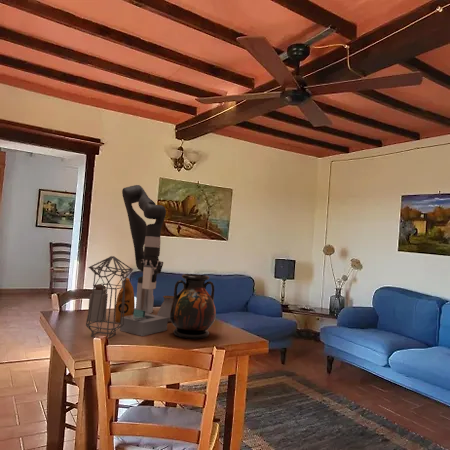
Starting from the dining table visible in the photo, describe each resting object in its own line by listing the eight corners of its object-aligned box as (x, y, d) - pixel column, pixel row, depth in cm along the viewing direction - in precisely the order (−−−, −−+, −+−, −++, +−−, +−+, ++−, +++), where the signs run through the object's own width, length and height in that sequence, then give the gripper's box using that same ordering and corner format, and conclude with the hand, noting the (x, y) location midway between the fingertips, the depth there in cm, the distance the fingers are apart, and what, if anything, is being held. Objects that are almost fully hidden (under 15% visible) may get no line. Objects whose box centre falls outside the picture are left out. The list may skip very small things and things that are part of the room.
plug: (148, 287, 196) (150, 264, 196) (155, 288, 193) (157, 265, 194) (141, 288, 192) (143, 265, 192) (149, 289, 189) (150, 266, 190)
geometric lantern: (96, 330, 185) (104, 254, 187) (128, 334, 182) (136, 257, 184) (77, 337, 170) (87, 254, 171) (112, 342, 167) (121, 258, 168)
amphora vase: (171, 341, 174) (176, 276, 175) (165, 329, 195) (169, 271, 196) (219, 341, 180) (224, 278, 181) (208, 330, 201) (212, 273, 202)
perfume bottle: (105, 319, 207) (108, 284, 208) (100, 322, 201) (103, 286, 201) (93, 318, 208) (96, 283, 209) (87, 321, 201) (90, 285, 202)
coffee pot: (157, 322, 210) (159, 293, 210) (155, 318, 221) (157, 290, 221) (197, 323, 215) (199, 295, 215) (193, 318, 226) (195, 292, 226)
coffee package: (111, 323, 200) (115, 279, 201) (116, 318, 212) (119, 276, 213) (132, 324, 201) (135, 280, 202) (135, 319, 213) (138, 277, 214)
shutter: (134, 316, 190) (135, 308, 190) (145, 319, 186) (146, 311, 186) (124, 318, 184) (125, 310, 185) (135, 321, 181) (136, 312, 181)
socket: (145, 325, 202) (146, 313, 202) (166, 330, 194) (167, 317, 194) (119, 330, 187) (120, 317, 187) (142, 336, 180) (143, 322, 180)
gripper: (135, 244, 194) (133, 280, 193) (158, 247, 186) (155, 283, 186) (146, 245, 200) (144, 279, 200) (168, 247, 193) (166, 283, 192)
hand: (149, 281), depth 193 cm, fingers closed on plug, 4 cm apart
